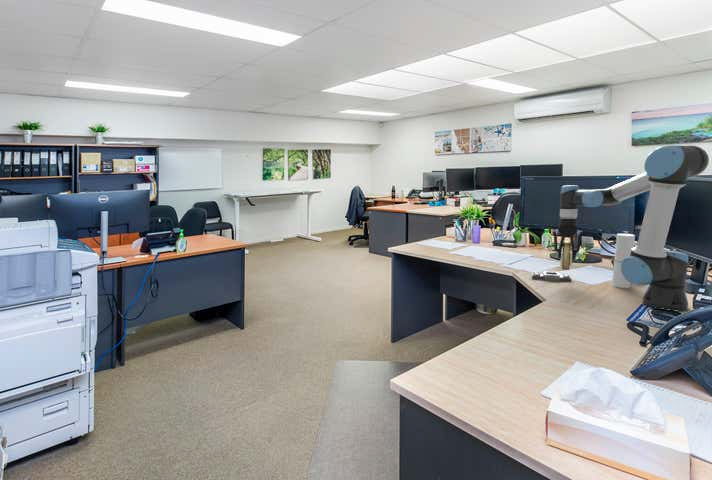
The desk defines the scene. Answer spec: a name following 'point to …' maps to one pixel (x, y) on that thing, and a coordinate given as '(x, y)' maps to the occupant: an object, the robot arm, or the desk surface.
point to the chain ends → (551, 276)
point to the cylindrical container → (622, 258)
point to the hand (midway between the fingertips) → (565, 265)
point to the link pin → (566, 255)
